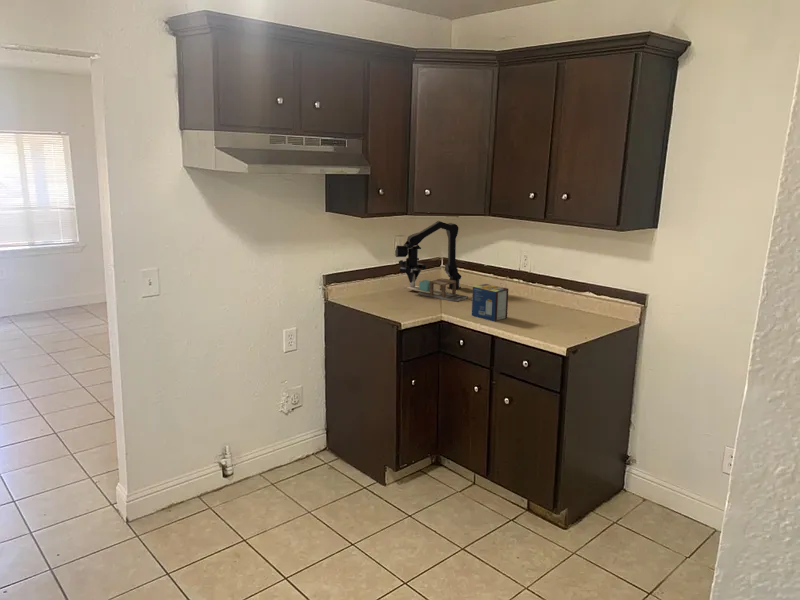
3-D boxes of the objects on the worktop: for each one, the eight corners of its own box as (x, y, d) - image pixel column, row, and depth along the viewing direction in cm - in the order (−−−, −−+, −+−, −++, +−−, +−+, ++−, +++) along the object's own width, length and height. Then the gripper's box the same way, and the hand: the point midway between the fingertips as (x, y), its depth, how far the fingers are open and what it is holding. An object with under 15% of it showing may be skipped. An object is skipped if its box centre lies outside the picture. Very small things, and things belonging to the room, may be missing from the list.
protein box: (484, 312, 328) (485, 283, 325) (507, 318, 317) (509, 288, 314) (470, 315, 322) (472, 286, 318) (494, 321, 311) (495, 291, 307)
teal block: (425, 288, 373) (425, 279, 372) (433, 289, 369) (433, 281, 368) (419, 289, 369) (419, 281, 367) (427, 291, 365) (427, 282, 364)
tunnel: (430, 290, 375) (430, 276, 373) (467, 297, 359) (468, 282, 356) (417, 294, 366) (418, 279, 364) (456, 301, 349) (456, 286, 347)
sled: (414, 286, 380) (414, 272, 377) (446, 292, 365) (447, 278, 363) (406, 288, 374) (406, 274, 371) (438, 294, 359) (439, 280, 357)
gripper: (411, 253, 383) (411, 278, 387) (392, 256, 369) (392, 282, 373) (426, 255, 376) (425, 280, 380) (407, 259, 362) (406, 285, 366)
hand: (412, 282), depth 375 cm, fingers closed on sled, 3 cm apart
